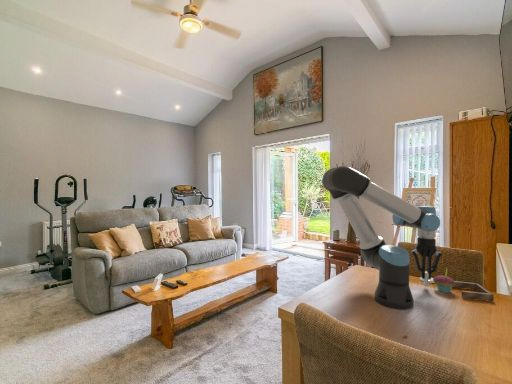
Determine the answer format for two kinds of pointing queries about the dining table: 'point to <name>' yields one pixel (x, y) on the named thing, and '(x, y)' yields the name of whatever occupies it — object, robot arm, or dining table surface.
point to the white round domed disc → (429, 280)
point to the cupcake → (444, 283)
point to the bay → (482, 295)
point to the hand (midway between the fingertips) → (425, 285)
